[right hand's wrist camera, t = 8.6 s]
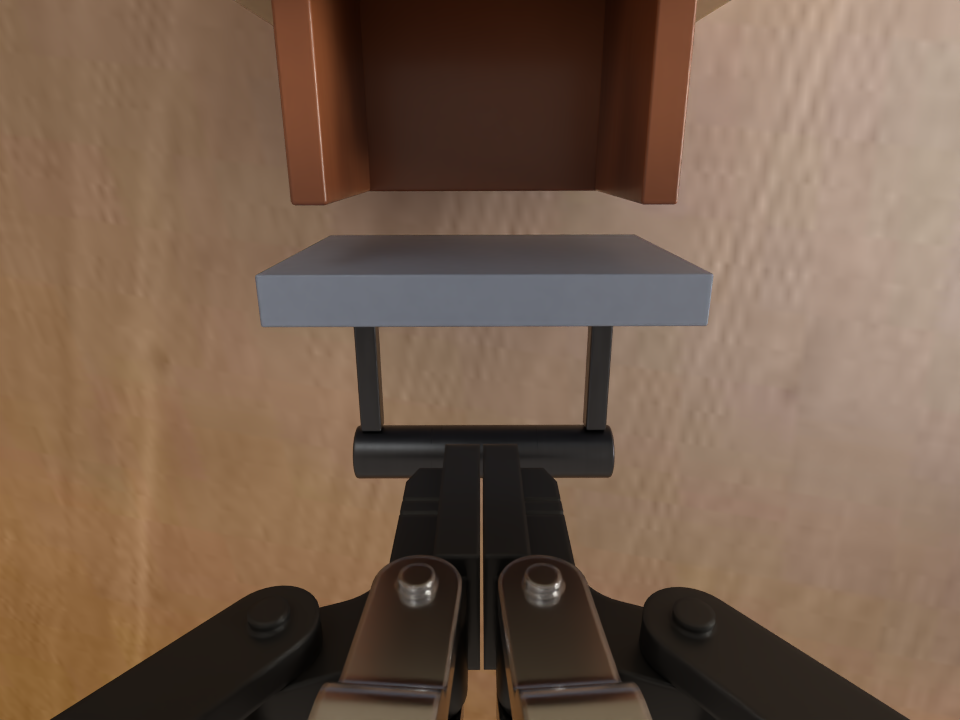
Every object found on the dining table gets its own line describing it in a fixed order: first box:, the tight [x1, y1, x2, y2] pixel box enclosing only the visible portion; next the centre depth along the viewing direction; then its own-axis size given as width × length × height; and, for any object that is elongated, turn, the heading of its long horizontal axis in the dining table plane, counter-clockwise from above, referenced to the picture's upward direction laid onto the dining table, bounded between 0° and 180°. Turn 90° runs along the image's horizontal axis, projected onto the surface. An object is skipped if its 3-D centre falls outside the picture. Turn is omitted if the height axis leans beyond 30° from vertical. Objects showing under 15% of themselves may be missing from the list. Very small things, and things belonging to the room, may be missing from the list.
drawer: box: [255, 0, 713, 478], centre depth 15 cm, size 25×10×7 cm, turn 0°
